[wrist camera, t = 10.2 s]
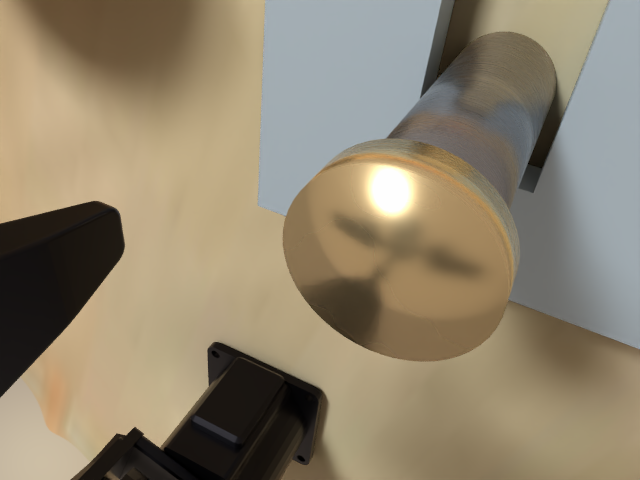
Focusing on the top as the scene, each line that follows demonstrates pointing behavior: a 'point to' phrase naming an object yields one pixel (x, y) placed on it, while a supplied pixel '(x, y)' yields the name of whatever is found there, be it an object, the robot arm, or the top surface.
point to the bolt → (427, 210)
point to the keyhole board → (537, 183)
